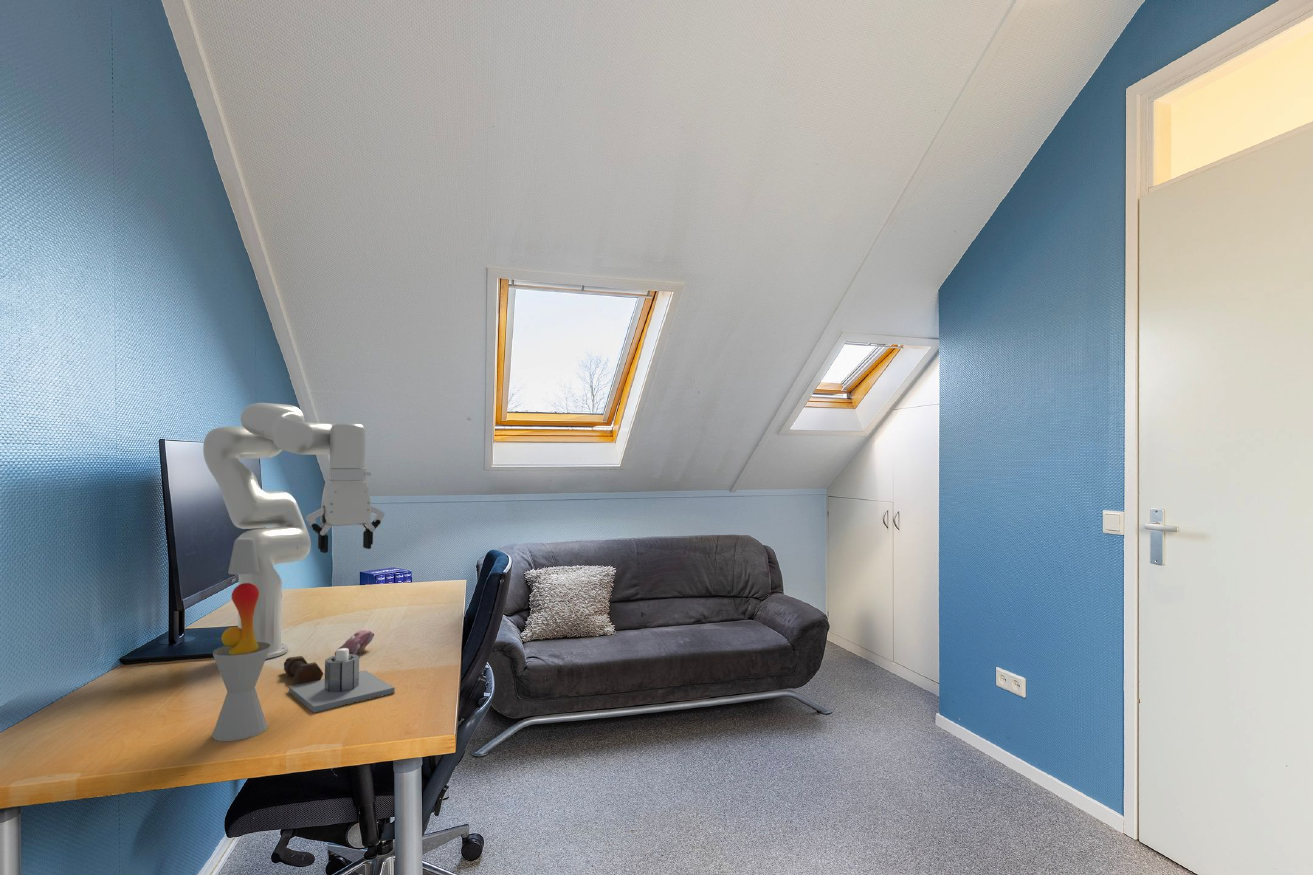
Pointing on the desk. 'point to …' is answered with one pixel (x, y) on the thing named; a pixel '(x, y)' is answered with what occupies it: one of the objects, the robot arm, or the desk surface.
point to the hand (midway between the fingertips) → (345, 550)
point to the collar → (341, 674)
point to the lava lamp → (241, 656)
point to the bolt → (302, 670)
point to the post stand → (321, 699)
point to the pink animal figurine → (358, 641)
